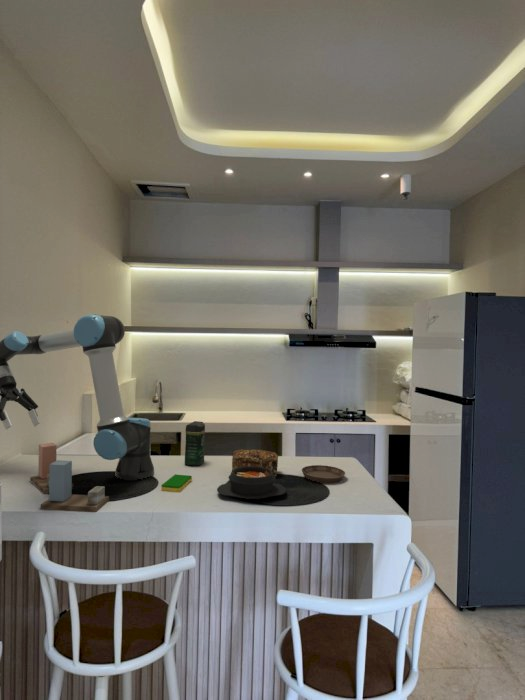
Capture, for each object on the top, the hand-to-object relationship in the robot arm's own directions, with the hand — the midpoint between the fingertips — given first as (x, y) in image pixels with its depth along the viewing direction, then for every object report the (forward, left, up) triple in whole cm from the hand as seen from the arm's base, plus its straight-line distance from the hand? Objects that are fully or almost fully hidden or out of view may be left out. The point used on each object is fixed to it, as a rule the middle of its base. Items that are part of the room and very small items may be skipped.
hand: (23, 426), depth 177 cm
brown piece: (-14, +6, -20) cm, 26 cm away
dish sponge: (-61, 0, -21) cm, 64 cm away
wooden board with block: (-33, +24, -20) cm, 45 cm away
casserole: (-90, +6, -21) cm, 92 cm away
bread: (-89, -19, -21) cm, 93 cm away
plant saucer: (-117, -18, -21) cm, 120 cm away
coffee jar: (-61, -30, -21) cm, 71 cm away
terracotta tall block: (-11, +2, -18) cm, 21 cm away
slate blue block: (-28, +24, -18) cm, 41 cm away
